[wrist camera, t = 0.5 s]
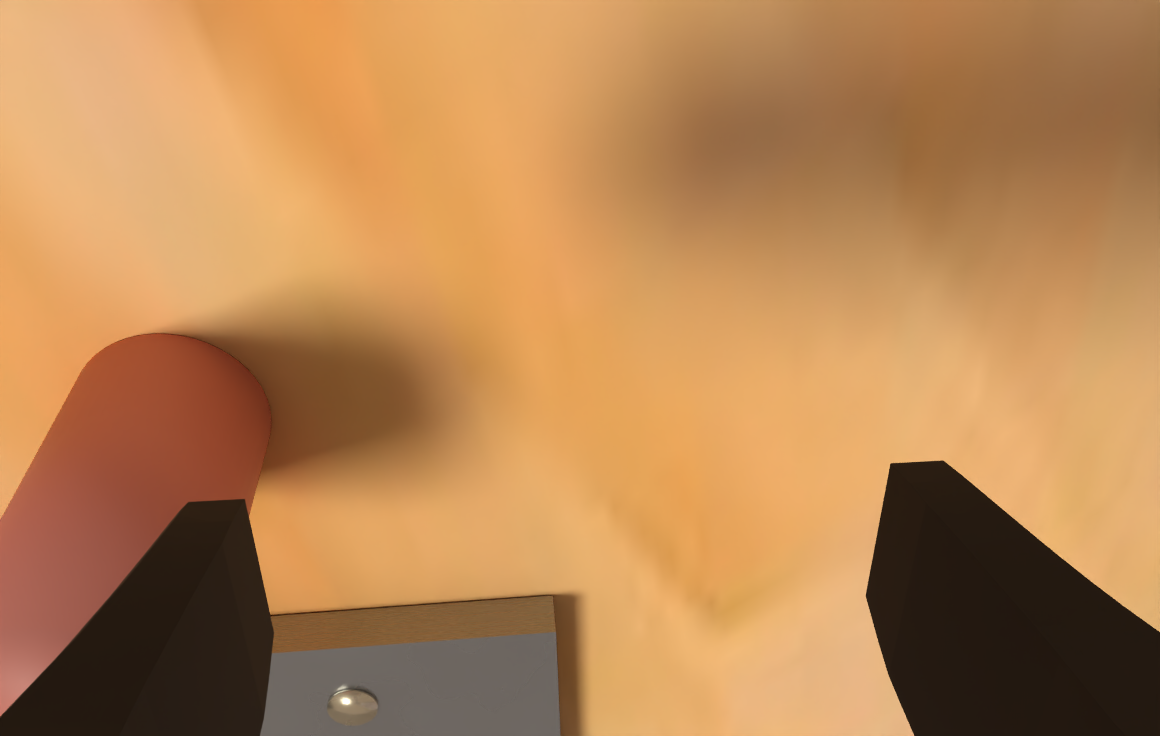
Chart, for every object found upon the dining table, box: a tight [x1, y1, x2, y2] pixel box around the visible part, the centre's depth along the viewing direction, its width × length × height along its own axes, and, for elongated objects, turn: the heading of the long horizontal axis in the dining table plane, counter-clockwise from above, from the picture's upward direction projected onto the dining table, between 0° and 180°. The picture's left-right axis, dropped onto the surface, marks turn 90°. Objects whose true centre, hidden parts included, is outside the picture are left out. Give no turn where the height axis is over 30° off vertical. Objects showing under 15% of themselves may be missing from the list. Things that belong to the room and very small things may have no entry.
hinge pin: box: [0, 334, 271, 716], centre depth 20 cm, size 4×4×8 cm
